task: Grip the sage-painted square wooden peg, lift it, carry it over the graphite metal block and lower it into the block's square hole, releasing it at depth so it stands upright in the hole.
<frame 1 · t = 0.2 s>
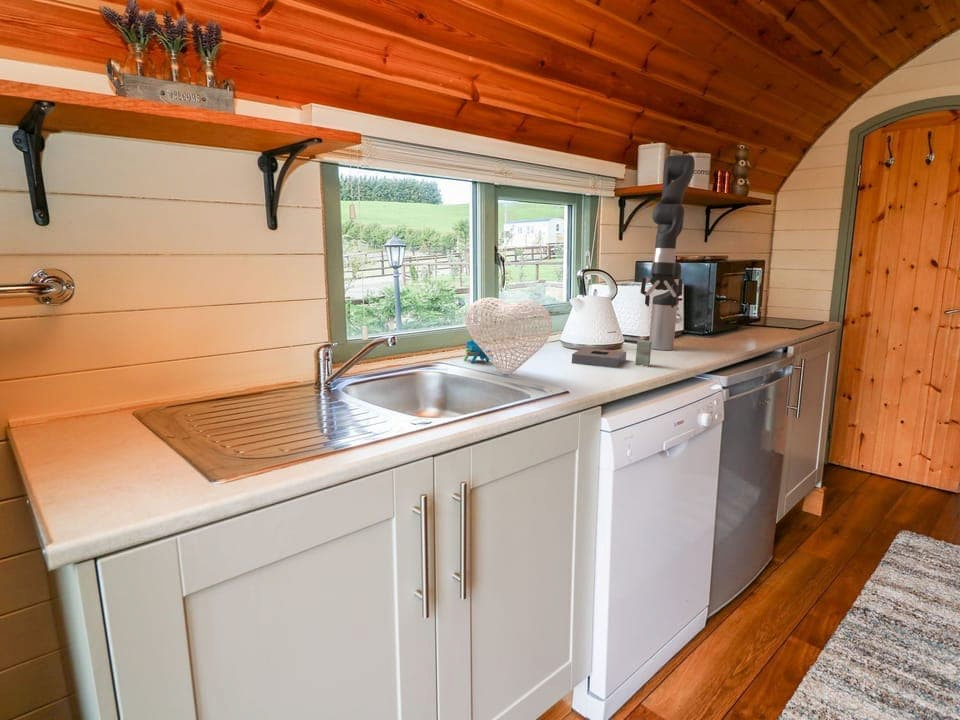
hand: (659, 307, 210), 17 cm above the worktop, tool pointing down, fingers open, 8 cm apart
hole block: (599, 361, 196), on the worktop
blue irregular piece: (478, 362, 191), on the worktop
heart: (505, 374, 173), on the worktop
peg: (642, 365, 193), on the worktop
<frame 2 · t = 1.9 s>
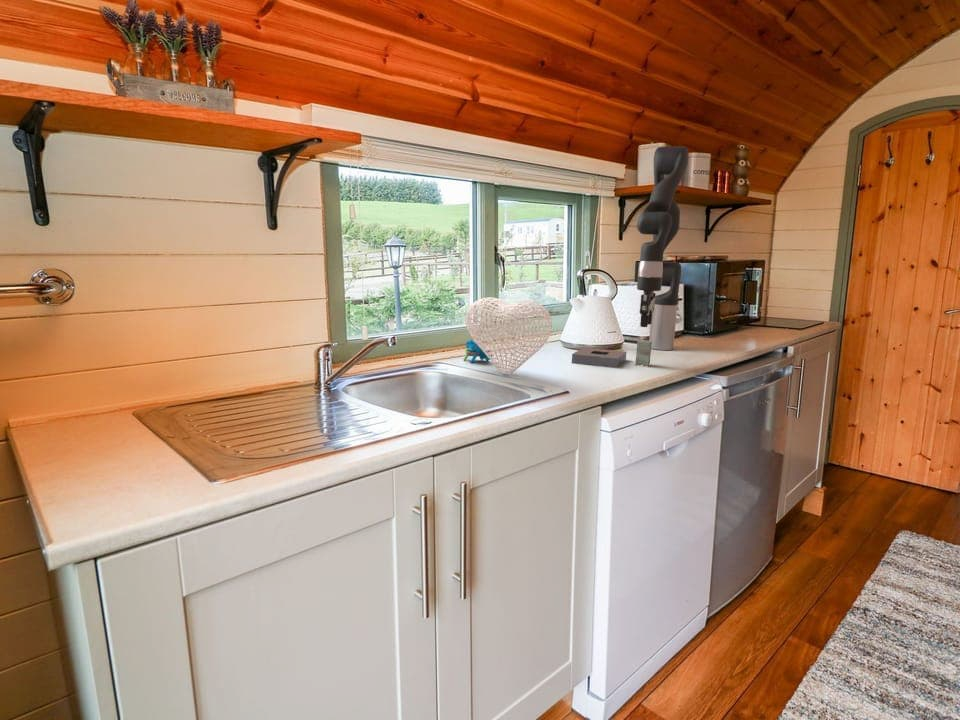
hand: (645, 325, 190), 13 cm above the worktop, tool pointing down, fingers open, 8 cm apart
nothing on the worktop moved.
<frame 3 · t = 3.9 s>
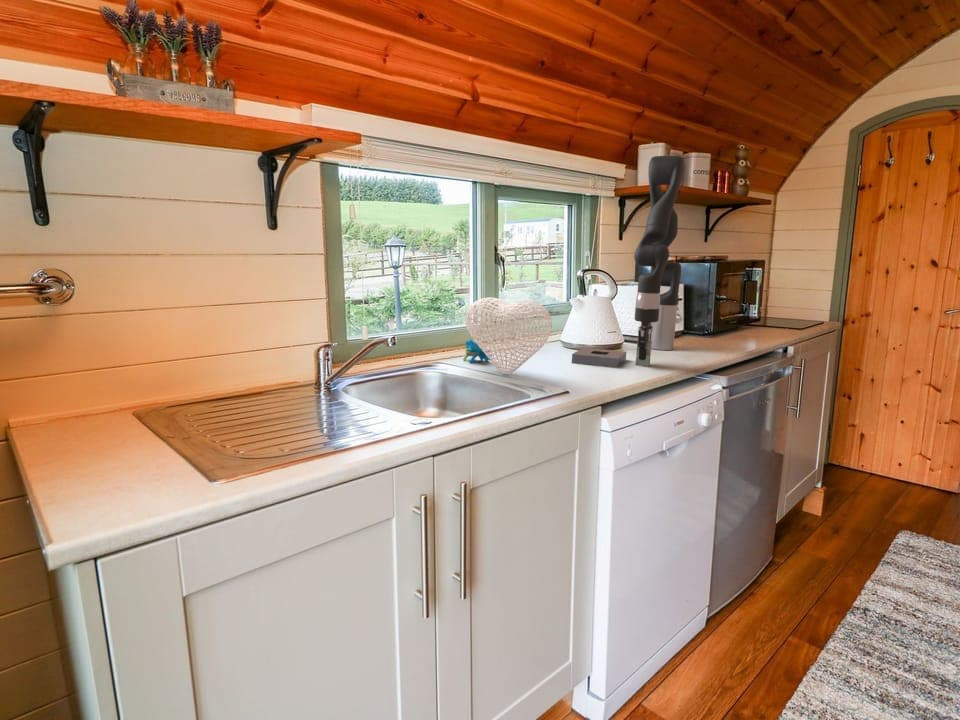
hand: (643, 358, 192), 2 cm above the worktop, tool pointing down, fingers closed on peg, 4 cm apart
peg: (642, 365, 193), on the worktop, touching gripper
everything else where it was.
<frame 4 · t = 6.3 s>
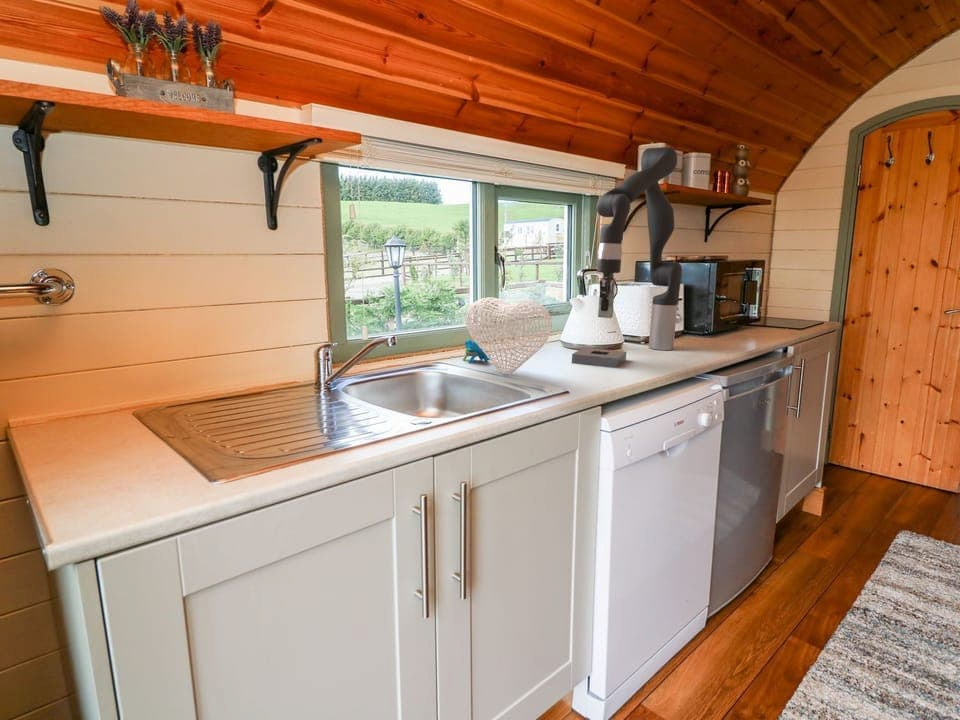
hand: (605, 310, 192), 17 cm above the worktop, tool pointing down, fingers closed on peg, 4 cm apart
peg: (605, 317, 193), point 15 cm above the worktop, touching gripper
everything else where it was.
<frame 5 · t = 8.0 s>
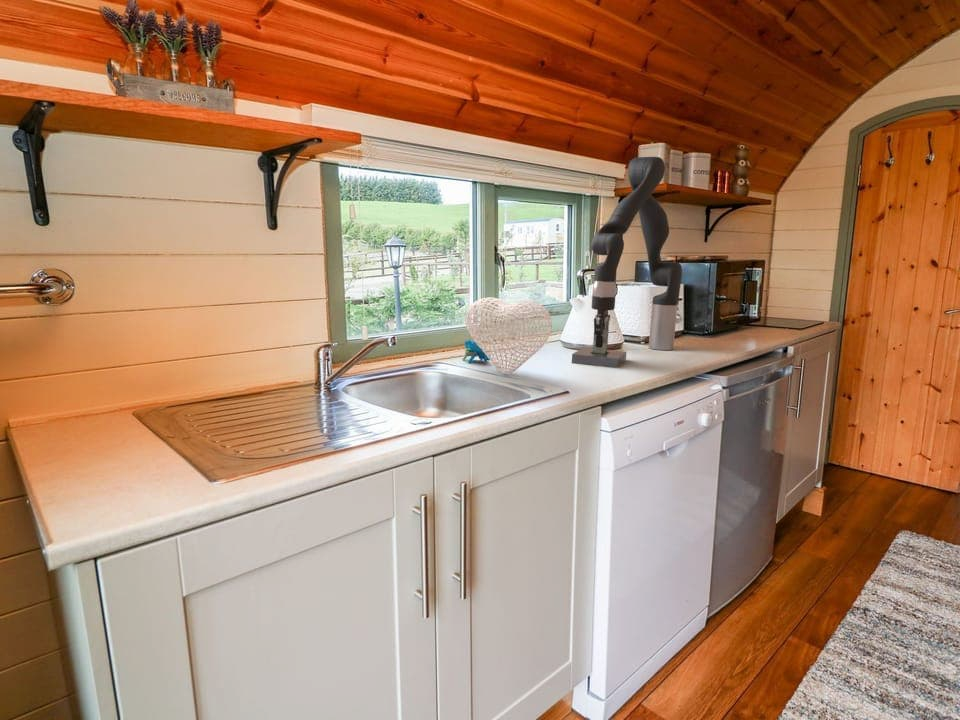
hand: (600, 346, 195), 5 cm above the worktop, tool pointing down, fingers closed on peg, 4 cm apart
peg: (599, 352, 196), point 3 cm above the worktop, touching gripper
everything else where it was.
when the fingers open (4 cm above the worktop, at t = 9.1 s): peg drops 1 cm, resting in hole block.
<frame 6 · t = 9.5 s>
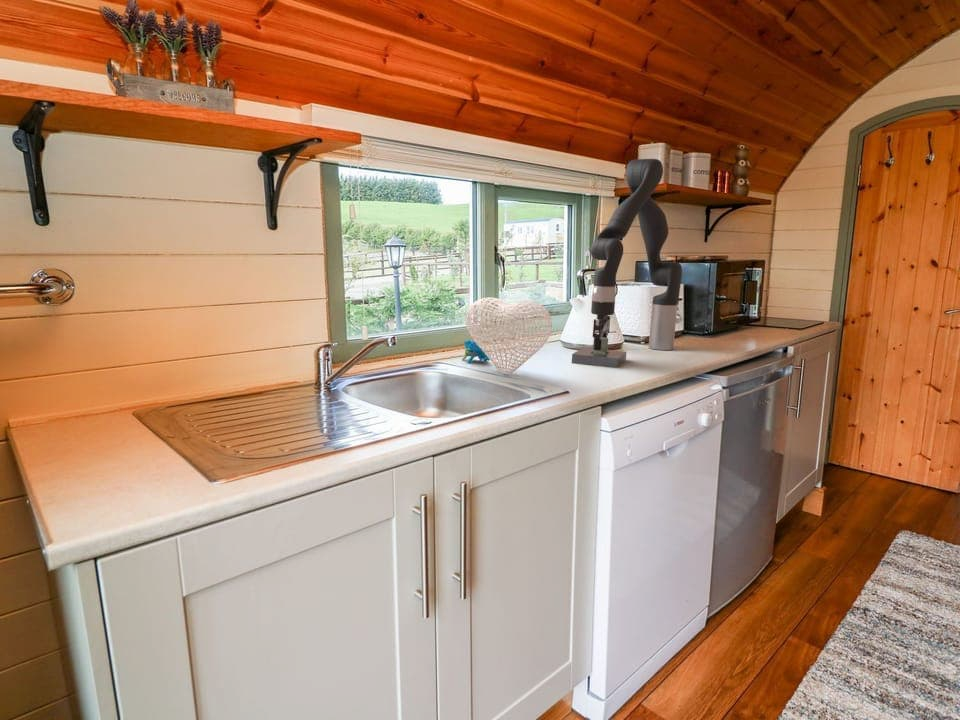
hand: (600, 348, 196), 5 cm above the worktop, tool pointing down, fingers open, 8 cm apart
peg: (599, 361, 197), resting in hole block
everything else where it was.
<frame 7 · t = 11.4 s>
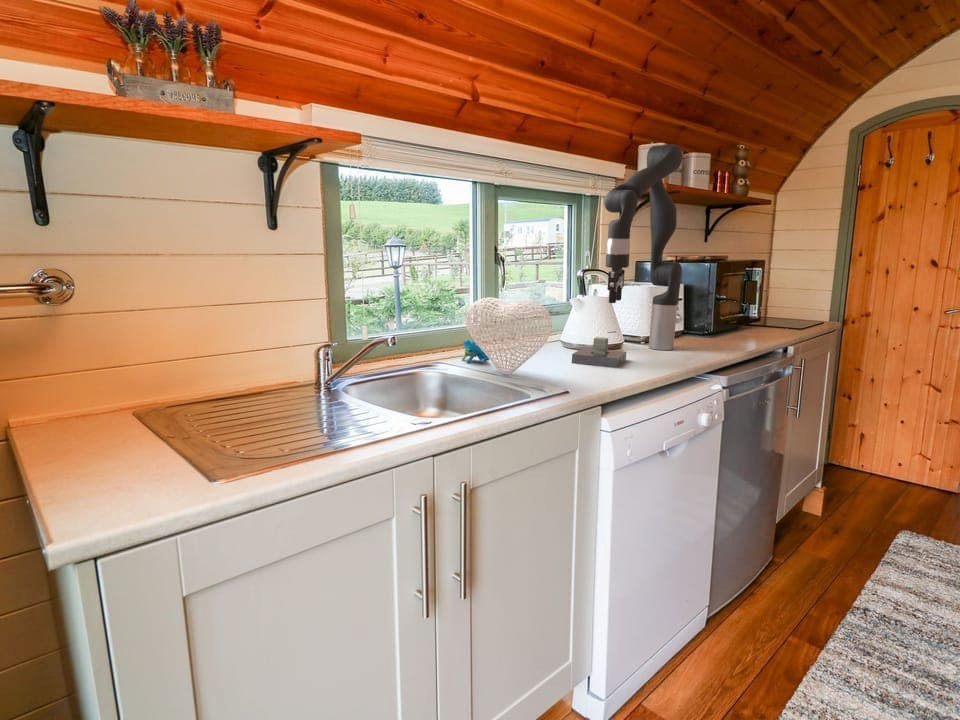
hand: (615, 301, 196), 20 cm above the worktop, tool pointing down, fingers open, 8 cm apart
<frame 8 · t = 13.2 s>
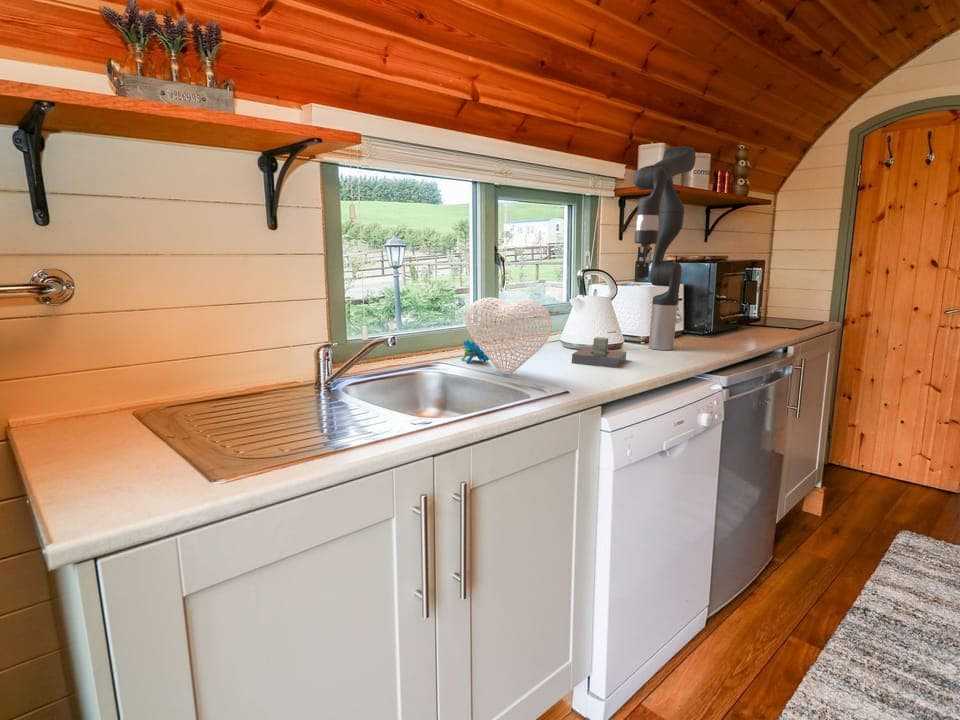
hand: (642, 277, 200), 28 cm above the worktop, tool pointing down, fingers open, 8 cm apart
at the end: peg 0.2 cm off-centre on the hole block, point 0.0 cm above the hole block's base; peg tilted 0°; the gripper is holding nothing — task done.
